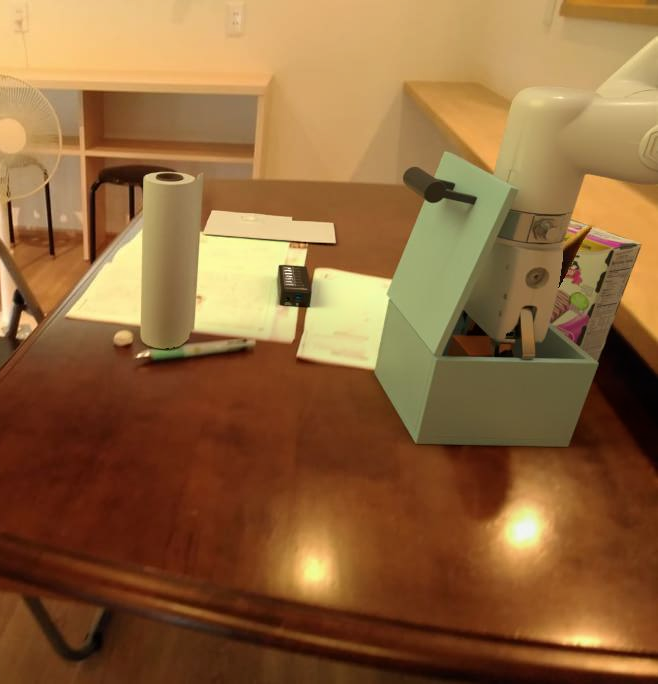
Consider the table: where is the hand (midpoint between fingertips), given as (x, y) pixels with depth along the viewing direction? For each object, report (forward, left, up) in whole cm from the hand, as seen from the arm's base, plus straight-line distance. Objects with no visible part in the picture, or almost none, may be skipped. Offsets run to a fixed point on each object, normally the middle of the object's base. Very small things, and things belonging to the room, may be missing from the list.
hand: (478, 382), depth 75 cm
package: (0, 0, 0) cm, 0 cm away
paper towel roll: (+33, -15, -3) cm, 37 cm away
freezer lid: (+7, 0, +15) cm, 17 cm away
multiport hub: (+14, -32, -3) cm, 35 cm away
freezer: (+1, 0, -3) cm, 3 cm away
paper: (+12, -64, -3) cm, 65 cm away
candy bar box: (-16, -14, -3) cm, 21 cm away
